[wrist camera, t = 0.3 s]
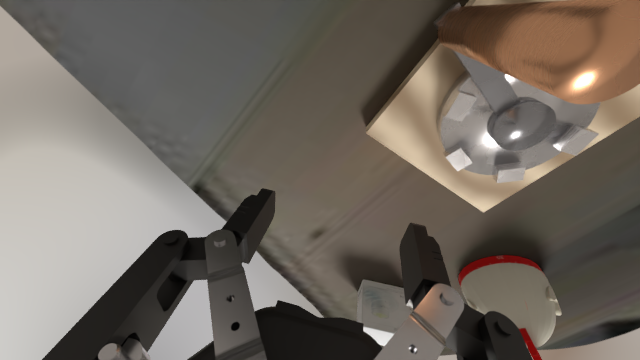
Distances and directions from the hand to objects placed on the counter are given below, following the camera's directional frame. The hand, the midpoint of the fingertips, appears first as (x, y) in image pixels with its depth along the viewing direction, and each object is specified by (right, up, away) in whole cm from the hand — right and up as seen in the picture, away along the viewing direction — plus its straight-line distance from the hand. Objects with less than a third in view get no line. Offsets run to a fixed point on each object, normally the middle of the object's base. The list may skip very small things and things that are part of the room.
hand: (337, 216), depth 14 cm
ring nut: (+18, +12, +12) cm, 24 cm away
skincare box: (+14, -24, +41) cm, 50 cm away
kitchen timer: (+34, -17, +32) cm, 50 cm away
